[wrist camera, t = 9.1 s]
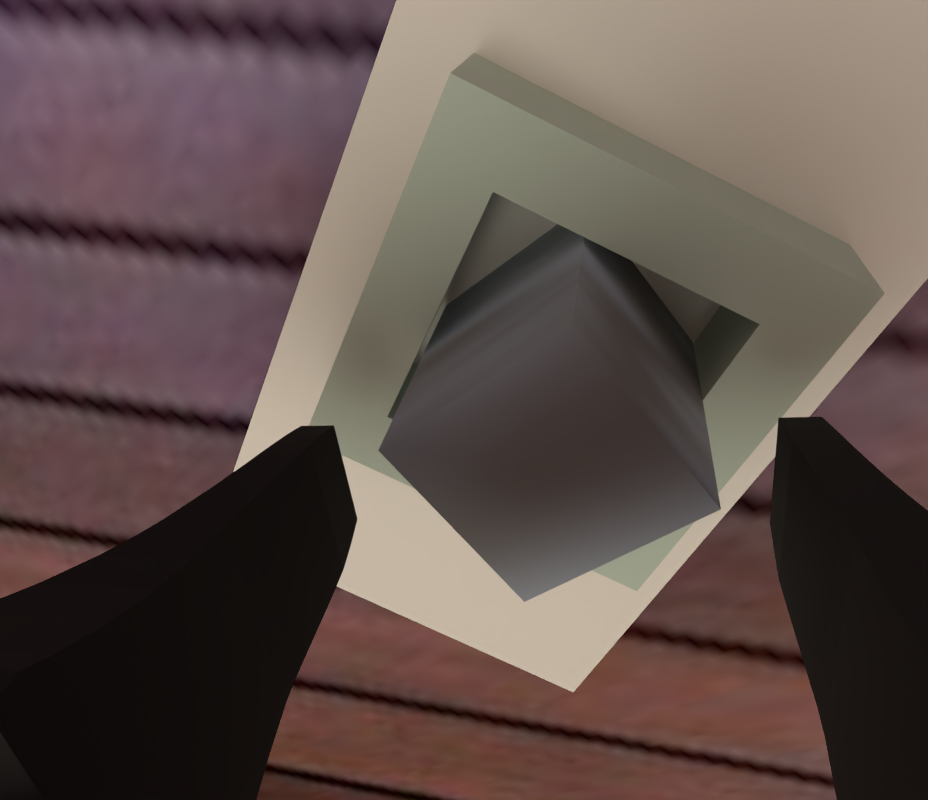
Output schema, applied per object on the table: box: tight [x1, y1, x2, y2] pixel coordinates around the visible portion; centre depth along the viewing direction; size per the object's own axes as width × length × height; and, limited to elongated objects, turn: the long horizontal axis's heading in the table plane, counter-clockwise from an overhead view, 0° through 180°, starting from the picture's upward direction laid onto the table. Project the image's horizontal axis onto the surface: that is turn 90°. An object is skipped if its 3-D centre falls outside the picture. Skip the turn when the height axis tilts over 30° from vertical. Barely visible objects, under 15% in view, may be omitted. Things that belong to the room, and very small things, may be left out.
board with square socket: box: [233, 0, 928, 692], centre depth 17 cm, size 12×22×4 cm, turn 156°
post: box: [378, 224, 721, 602], centre depth 15 cm, size 4×4×6 cm
